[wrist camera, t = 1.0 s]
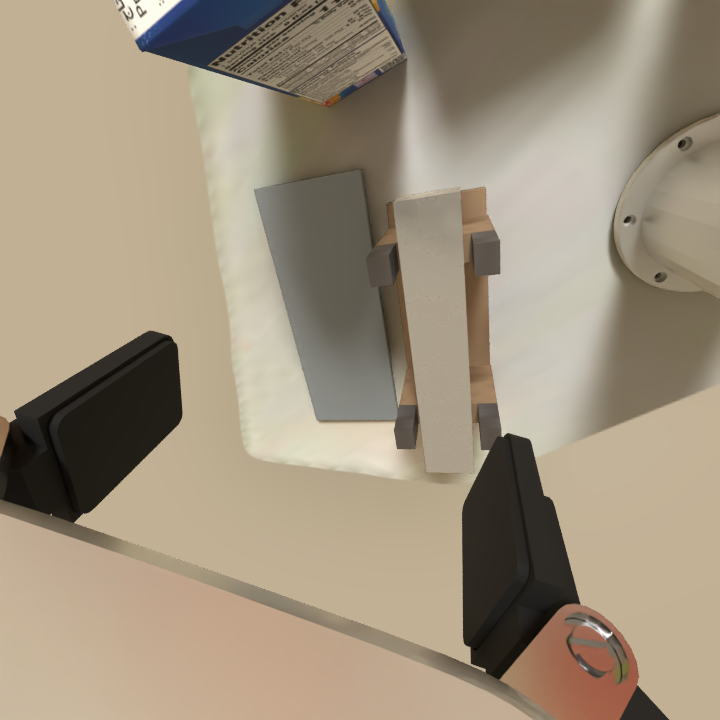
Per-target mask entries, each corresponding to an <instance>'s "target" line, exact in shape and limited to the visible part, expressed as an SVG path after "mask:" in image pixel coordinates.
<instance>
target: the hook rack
mask: <svg viewBox="0 0 720 720" xmlns="http://www.w3.org/2000/svg"><path fill="white" fill-rule="evenodd" d="M460 192H461V212H462V232H463V252H464V273H465V293H466V313H467V333H468V353H469V373H470V393H471V413H472V423H479V429H480V441H481V450H490V449H491V447H492V445H493V443H494V441H495V439H496V438H497V437H498V436H500V437H501V424H500V418H499V412H498V406H497V400H496V394H495V388H494V381H493V375H492V369H491V365H490V352H489V307H488V275H495V274H500V240H499V238H498V236H497V233H496V231H495V229H494V227H493V225H492V223H491V221H490V219H489V216H488V215H486V188H485V187H480V188H474V189H468V190H462V191H460ZM387 212H388V219H389V227H390V229H388V231H387V232H386V233H385V234H384V236H383V237H382V238H381V239H380V241H379V242H378V243H377V244H376V246H375V247H374V248H373V249H372V251H371V252H370V253H369V254H368V256H367V257H366V262H367V268H368V274H369V280H370V286H371V287H380V286H390V285H393V283H394V281H395V279H396V280H397V288H398V295H399V303H400V310H401V318H402V326H403V333H404V341H405V348H406V356H407V364H408V369H407V372H406V377H405V381H404V386H403V391H402V395H401V400H400V405H399V409H398V414H397V419H396V423H395V428H394V433H395V439H396V445H397V449H415V447H416V439H417V432H418V424H419V423H420V418H419V409H418V401H417V393H416V385H415V377H414V369H413V361H412V353H411V345H410V337H409V329H408V321H407V313H406V305H405V297H404V289H403V281H402V273H401V265H400V257H399V249H398V241H397V233H396V225H395V217H394V209H393V202H389V203H388V204H387Z"/></svg>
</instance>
